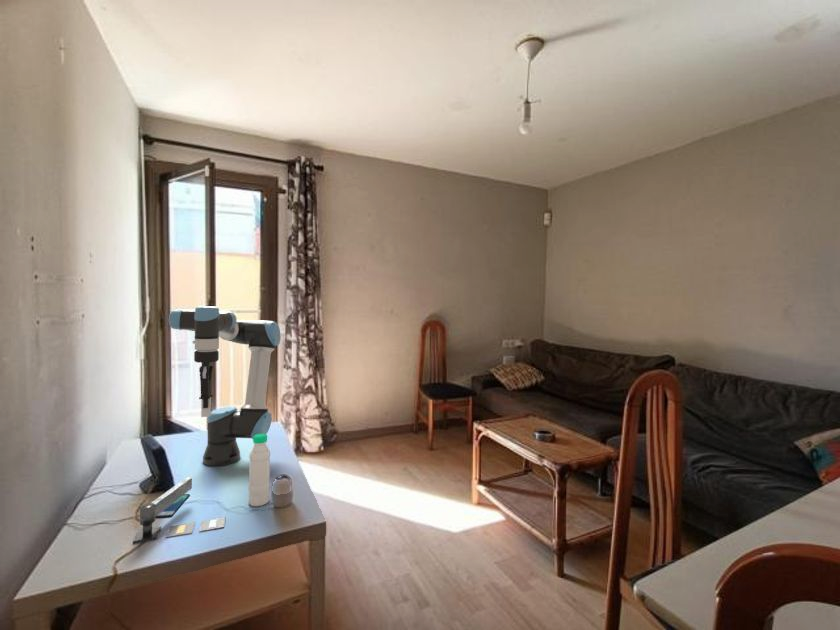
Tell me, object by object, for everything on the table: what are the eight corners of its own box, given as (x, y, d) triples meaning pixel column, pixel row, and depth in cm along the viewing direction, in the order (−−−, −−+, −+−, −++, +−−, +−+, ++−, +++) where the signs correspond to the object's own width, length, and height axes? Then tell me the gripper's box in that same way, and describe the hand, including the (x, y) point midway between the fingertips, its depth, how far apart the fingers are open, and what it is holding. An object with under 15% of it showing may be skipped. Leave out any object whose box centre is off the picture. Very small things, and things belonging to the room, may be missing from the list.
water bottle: (249, 509, 136) (250, 439, 135) (248, 499, 142) (249, 433, 141) (270, 504, 139) (271, 437, 138) (268, 495, 145) (269, 430, 144)
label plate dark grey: (202, 521, 127) (202, 520, 127) (225, 517, 130) (225, 516, 130) (199, 532, 122) (199, 530, 122) (223, 527, 125) (223, 526, 125)
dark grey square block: (138, 532, 121) (138, 519, 121) (161, 528, 123) (161, 515, 123) (132, 543, 115) (132, 530, 115) (156, 539, 118) (156, 526, 117)
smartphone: (148, 517, 128) (170, 494, 143) (148, 520, 128) (170, 496, 143) (171, 516, 129) (190, 493, 144) (171, 518, 129) (190, 495, 144)
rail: (136, 524, 117) (136, 509, 117) (183, 489, 139) (183, 476, 139) (148, 525, 117) (148, 510, 117) (194, 489, 139) (194, 476, 139)
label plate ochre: (170, 526, 124) (170, 525, 124) (195, 522, 127) (195, 521, 127) (166, 537, 118) (166, 536, 118) (192, 533, 121) (192, 532, 121)
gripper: (197, 347, 139) (196, 411, 141) (191, 353, 127) (190, 422, 128) (220, 347, 142) (219, 410, 143) (216, 352, 130) (215, 420, 131)
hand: (205, 416), depth 136 cm, fingers closed
